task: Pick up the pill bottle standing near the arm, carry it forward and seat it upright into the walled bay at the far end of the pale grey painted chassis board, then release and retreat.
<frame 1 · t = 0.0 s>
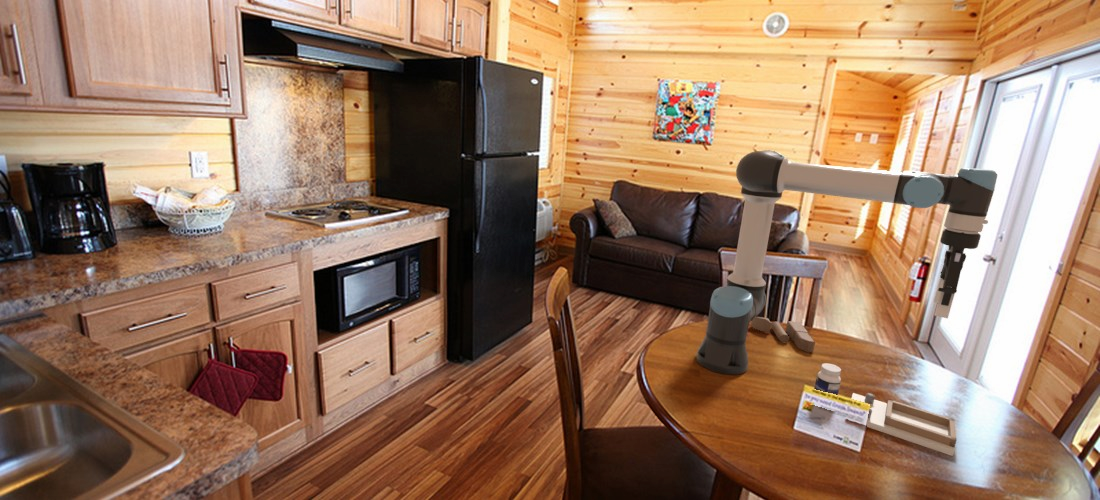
hand: (940, 309, 131), 28 cm above the table, fingers open, 13 cm apart
pill bottle: (823, 400, 138), on the table
chassis: (897, 424, 128), on the table
wooden block set: (779, 340, 177), on the table
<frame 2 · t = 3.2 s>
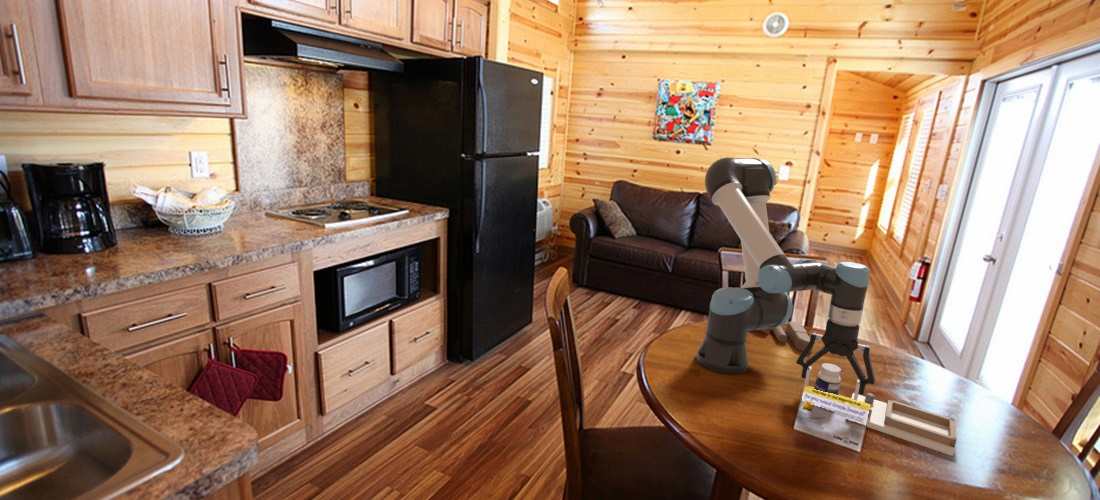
hand: (829, 396, 137), 1 cm above the table, fingers open, 11 cm apart
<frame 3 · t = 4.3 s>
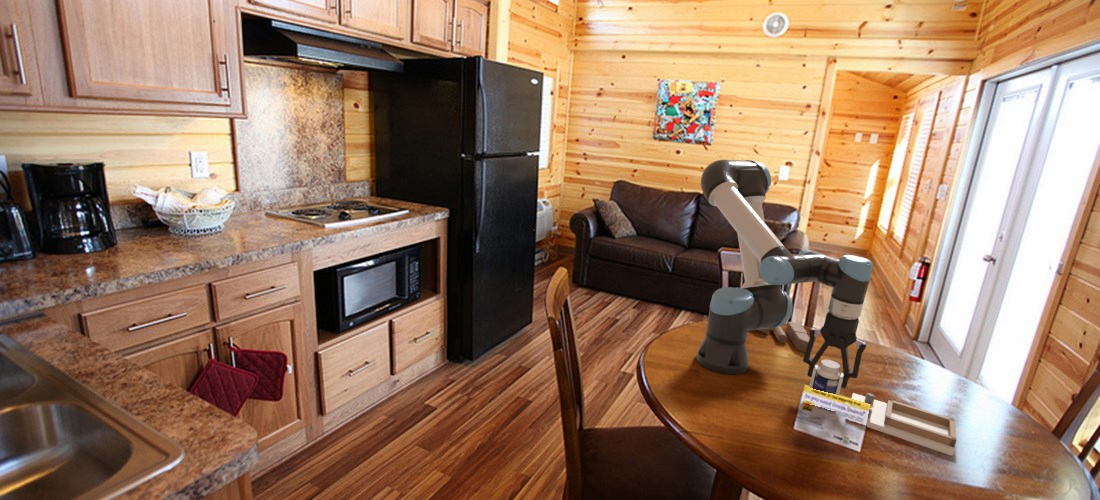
hand: (823, 391, 138), 2 cm above the table, fingers closed on pill bottle, 6 cm apart
pill bottle: (822, 396, 138), point 1 cm above the table, touching gripper
everything else where it was.
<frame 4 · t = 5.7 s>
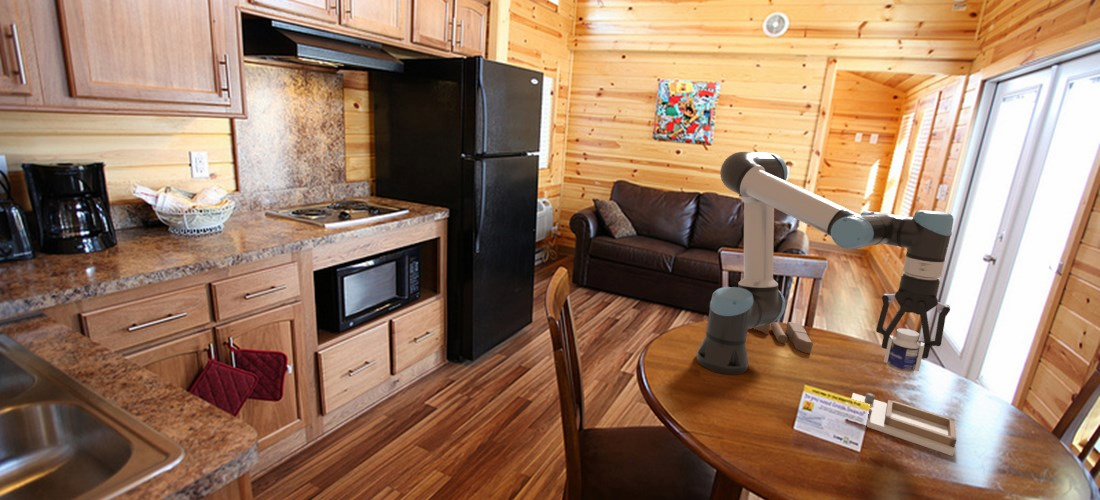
hand: (901, 364, 125), 16 cm above the table, fingers closed on pill bottle, 6 cm apart
pill bottle: (900, 369, 125), point 15 cm above the table, touching gripper
everything else where it was.
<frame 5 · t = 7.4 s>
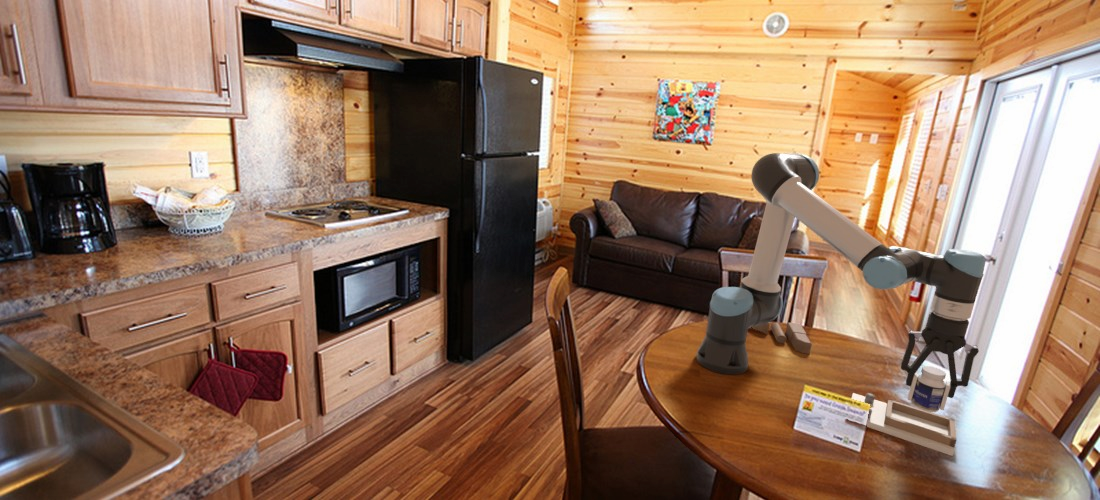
hand: (925, 402, 124), 8 cm above the table, fingers closed on pill bottle, 6 cm apart
pill bottle: (924, 407, 124), point 7 cm above the table, touching gripper
when the fingers open (3 cm above the table, at t = 8.6 s): pill bottle stays where it is, resting on chassis.
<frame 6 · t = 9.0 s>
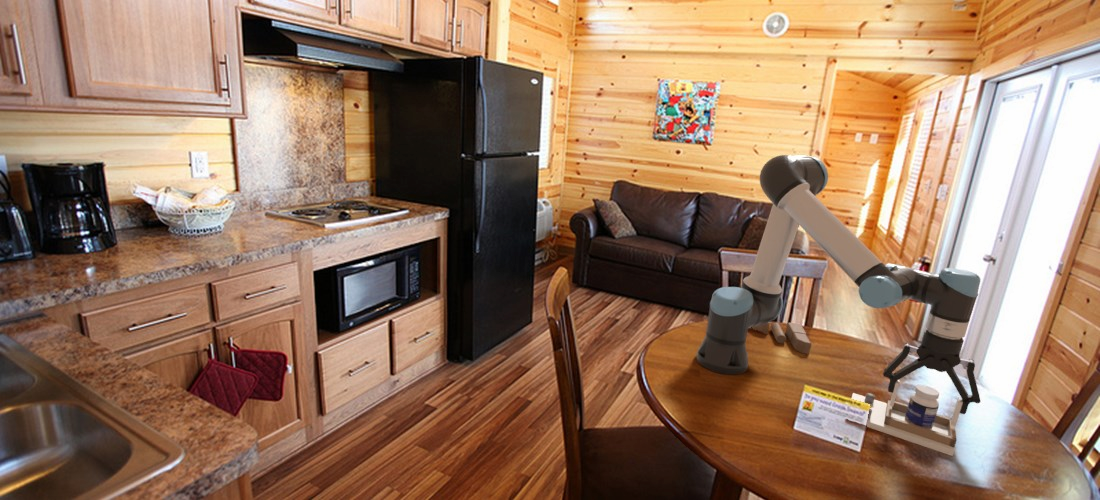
hand: (921, 413, 125), 5 cm above the table, fingers open, 12 cm apart
pill bottle: (917, 425, 126), point 1 cm above the table, touching chassis
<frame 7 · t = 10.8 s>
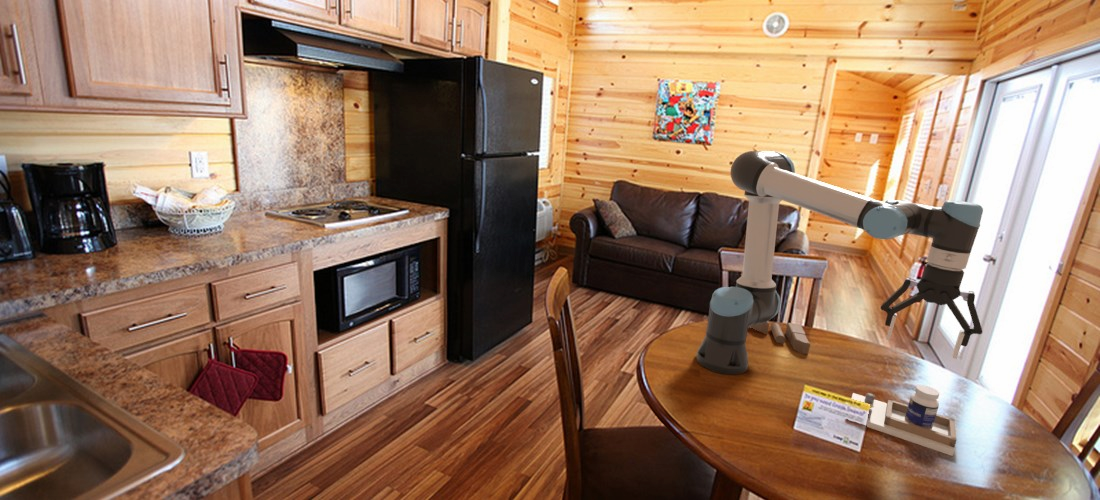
hand: (920, 347, 125), 21 cm above the table, fingers open, 13 cm apart
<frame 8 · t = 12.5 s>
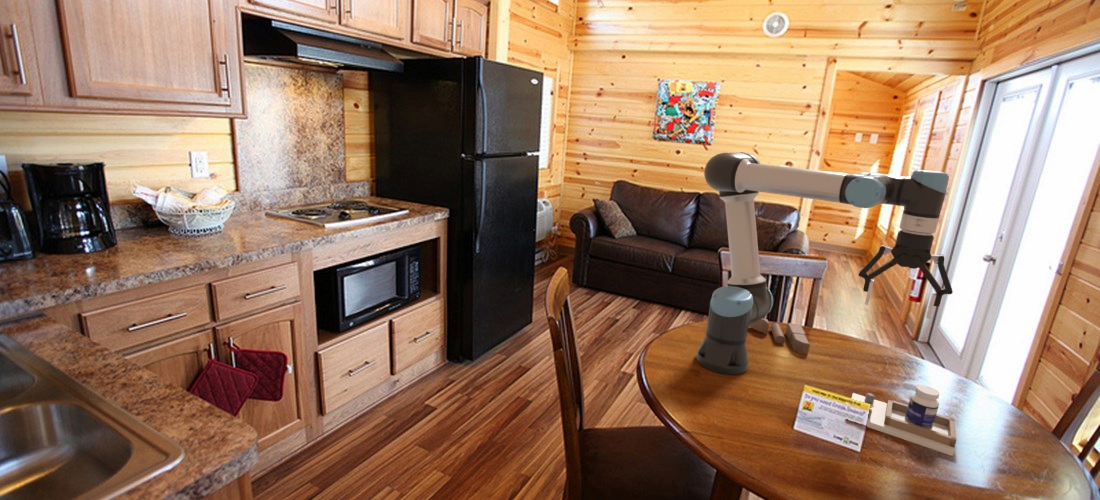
hand: (896, 310, 133), 27 cm above the table, fingers open, 13 cm apart
at the end: pill bottle inside the target area on the chassis (0.1 cm from its centre), point 1.3 cm above the chassis's base; pill bottle tilted 0°; the gripper is holding nothing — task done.
